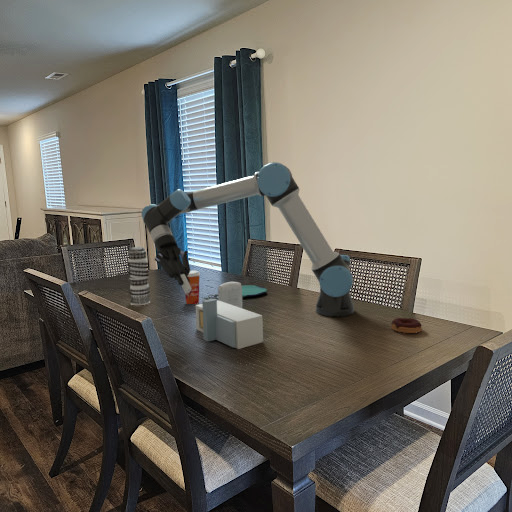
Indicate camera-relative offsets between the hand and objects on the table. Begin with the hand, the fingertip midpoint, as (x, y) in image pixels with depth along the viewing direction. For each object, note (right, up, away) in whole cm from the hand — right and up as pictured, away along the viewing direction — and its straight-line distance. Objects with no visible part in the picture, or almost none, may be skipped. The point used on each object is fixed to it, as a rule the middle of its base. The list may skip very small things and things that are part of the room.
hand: (188, 291), depth 159 cm
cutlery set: (+14, -7, +54) cm, 57 cm away
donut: (+76, -14, -1) cm, 77 cm away
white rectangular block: (+14, -15, -2) cm, 21 cm away
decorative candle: (-28, -9, +43) cm, 52 cm away
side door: (+12, -16, -11) cm, 23 cm away
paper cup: (-4, -9, +42) cm, 43 cm away
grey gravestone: (+13, -11, +27) cm, 32 cm away
